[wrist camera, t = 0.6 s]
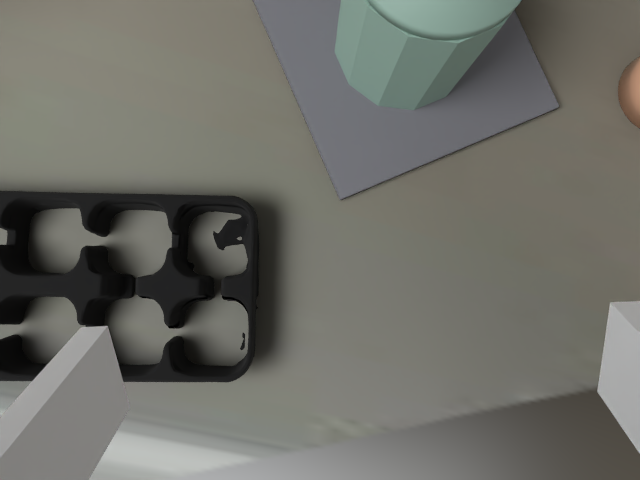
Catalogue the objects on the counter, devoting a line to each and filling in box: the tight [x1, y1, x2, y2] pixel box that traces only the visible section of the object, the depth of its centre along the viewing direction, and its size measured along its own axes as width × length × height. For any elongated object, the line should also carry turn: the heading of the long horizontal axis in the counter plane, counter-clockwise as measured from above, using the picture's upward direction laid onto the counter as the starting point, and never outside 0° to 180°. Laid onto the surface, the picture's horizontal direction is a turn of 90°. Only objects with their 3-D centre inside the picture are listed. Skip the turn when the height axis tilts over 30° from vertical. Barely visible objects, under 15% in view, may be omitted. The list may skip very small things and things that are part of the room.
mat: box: [253, 0, 559, 200], centre depth 39 cm, size 18×18×1 cm
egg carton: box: [0, 191, 259, 382], centre depth 36 cm, size 18×30×4 cm, turn 101°
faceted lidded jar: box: [335, 0, 522, 110], centre depth 33 cm, size 10×10×12 cm
